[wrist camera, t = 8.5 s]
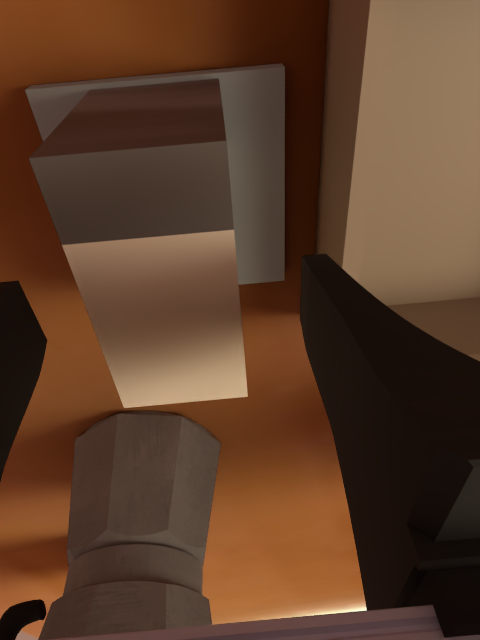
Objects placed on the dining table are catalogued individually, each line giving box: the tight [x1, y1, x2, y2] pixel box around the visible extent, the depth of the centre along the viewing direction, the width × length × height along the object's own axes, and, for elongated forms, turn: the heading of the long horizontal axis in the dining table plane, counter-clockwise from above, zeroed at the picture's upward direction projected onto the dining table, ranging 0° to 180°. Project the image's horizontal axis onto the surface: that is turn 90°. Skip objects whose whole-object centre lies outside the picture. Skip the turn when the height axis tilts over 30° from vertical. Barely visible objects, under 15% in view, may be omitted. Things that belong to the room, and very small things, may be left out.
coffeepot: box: [0, 411, 221, 640], centre depth 20 cm, size 15×9×18 cm, turn 104°
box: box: [29, 79, 248, 408], centre depth 13 cm, size 8×4×6 cm, turn 4°
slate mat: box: [25, 63, 285, 285], centre depth 16 cm, size 8×8×1 cm
